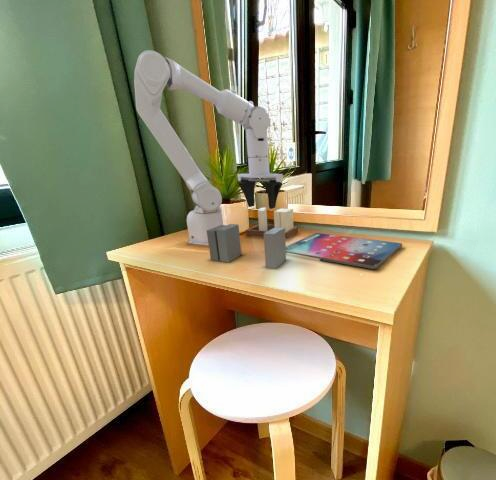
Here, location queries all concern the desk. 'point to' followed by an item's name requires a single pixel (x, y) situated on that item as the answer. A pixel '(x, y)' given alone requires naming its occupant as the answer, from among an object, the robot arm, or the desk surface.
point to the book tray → (255, 230)
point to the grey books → (229, 248)
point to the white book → (262, 219)
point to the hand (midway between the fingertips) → (261, 207)
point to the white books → (284, 219)
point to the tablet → (345, 249)
